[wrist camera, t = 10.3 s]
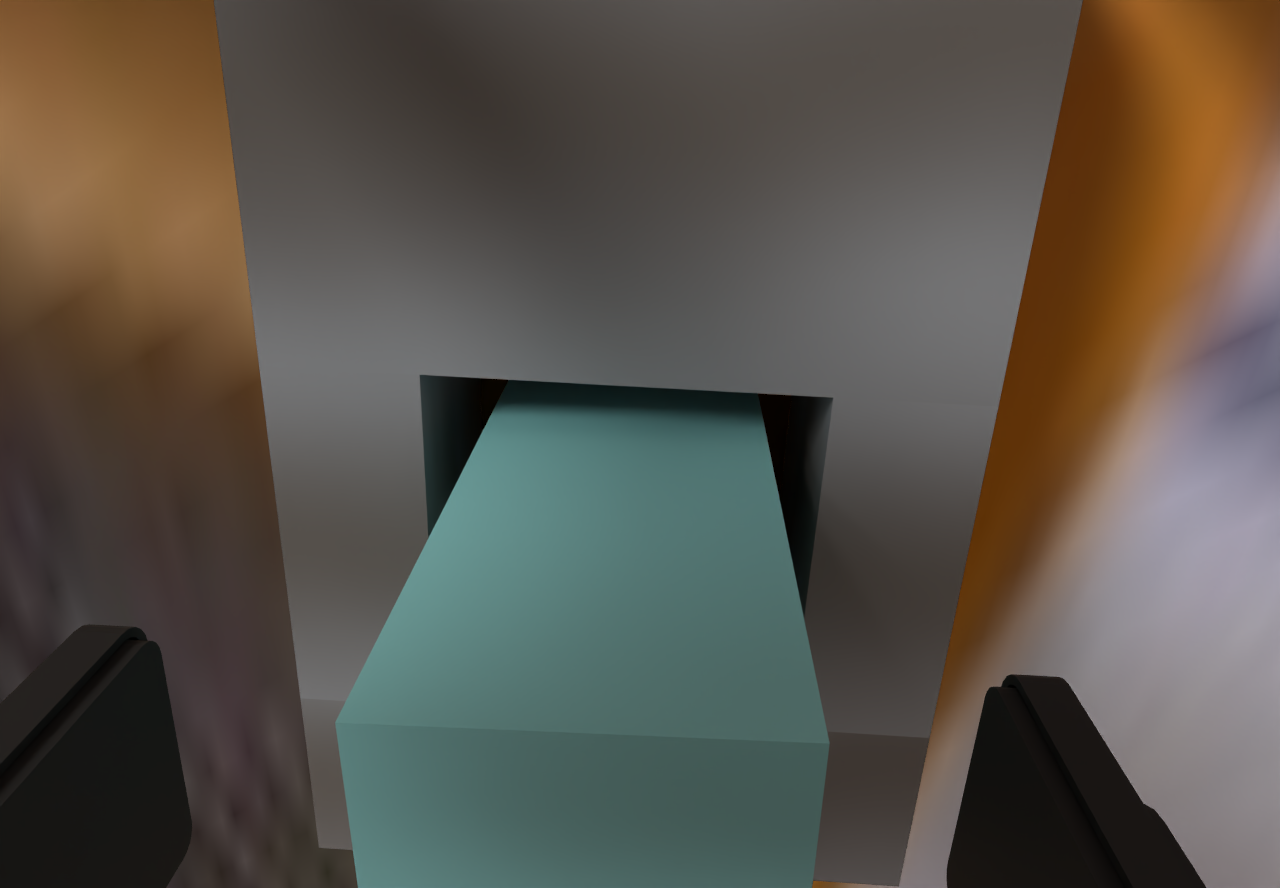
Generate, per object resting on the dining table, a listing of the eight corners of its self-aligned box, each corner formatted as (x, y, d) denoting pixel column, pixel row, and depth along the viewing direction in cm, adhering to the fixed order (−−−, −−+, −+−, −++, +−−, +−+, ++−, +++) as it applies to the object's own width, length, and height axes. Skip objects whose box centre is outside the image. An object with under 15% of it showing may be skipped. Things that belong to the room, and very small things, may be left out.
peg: (749, 354, 17) (828, 744, 8) (737, 551, 18) (789, 1070, 9) (524, 348, 17) (335, 722, 8) (531, 544, 18) (380, 1048, 9)
